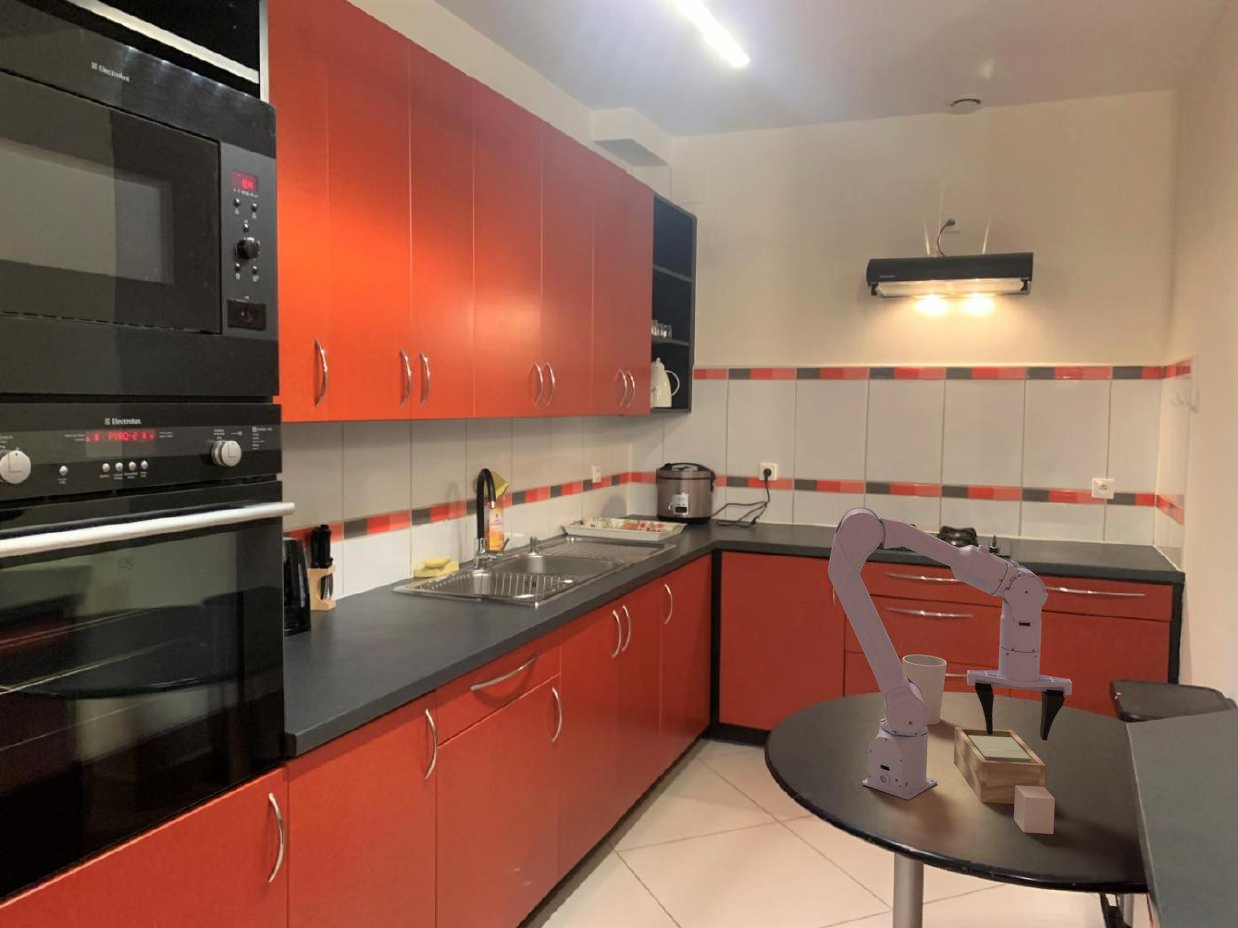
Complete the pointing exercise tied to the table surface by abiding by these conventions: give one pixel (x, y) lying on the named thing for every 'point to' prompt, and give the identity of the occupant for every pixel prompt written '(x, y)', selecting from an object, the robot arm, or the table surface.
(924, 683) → the cup
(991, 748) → the pale grey flat block
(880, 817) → the table surface
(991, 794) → the box
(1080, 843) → the table surface
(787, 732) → the table surface
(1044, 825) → the pinkish beige block
